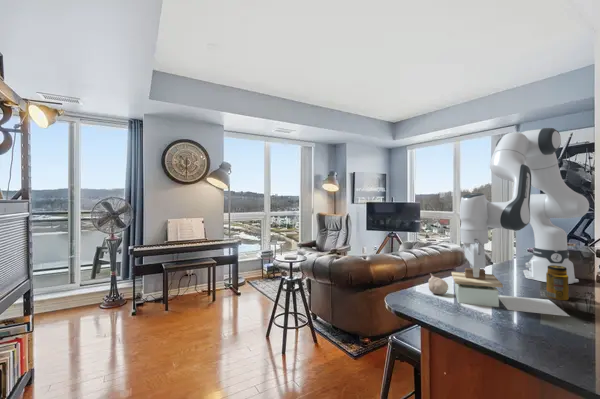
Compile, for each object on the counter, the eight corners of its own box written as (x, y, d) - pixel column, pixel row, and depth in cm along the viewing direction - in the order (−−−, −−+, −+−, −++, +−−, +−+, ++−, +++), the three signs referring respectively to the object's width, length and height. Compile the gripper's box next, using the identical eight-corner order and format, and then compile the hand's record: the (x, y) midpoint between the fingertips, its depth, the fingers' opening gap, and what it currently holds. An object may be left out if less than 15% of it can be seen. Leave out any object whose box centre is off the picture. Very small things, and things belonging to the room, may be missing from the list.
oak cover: (451, 274, 114) (451, 264, 115) (493, 277, 109) (492, 266, 109) (455, 283, 102) (455, 272, 102) (502, 287, 96) (502, 275, 96)
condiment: (573, 300, 104) (572, 266, 104) (565, 305, 100) (564, 270, 100) (547, 294, 110) (547, 263, 110) (539, 299, 106) (538, 266, 106)
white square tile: (496, 296, 109) (496, 294, 109) (548, 301, 103) (548, 299, 103) (507, 311, 95) (507, 309, 95) (570, 318, 89) (570, 316, 89)
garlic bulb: (438, 290, 118) (438, 271, 118) (451, 295, 112) (451, 274, 112) (425, 292, 116) (425, 272, 116) (437, 297, 109) (437, 276, 110)
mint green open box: (455, 294, 113) (454, 278, 113) (491, 297, 108) (490, 281, 108) (458, 304, 102) (458, 287, 102) (499, 308, 97) (498, 290, 97)
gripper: (490, 241, 95) (491, 283, 95) (478, 234, 114) (479, 269, 113) (468, 241, 97) (469, 282, 97) (460, 234, 116) (461, 268, 116)
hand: (474, 275), depth 105 cm, fingers closed on oak cover, 3 cm apart
